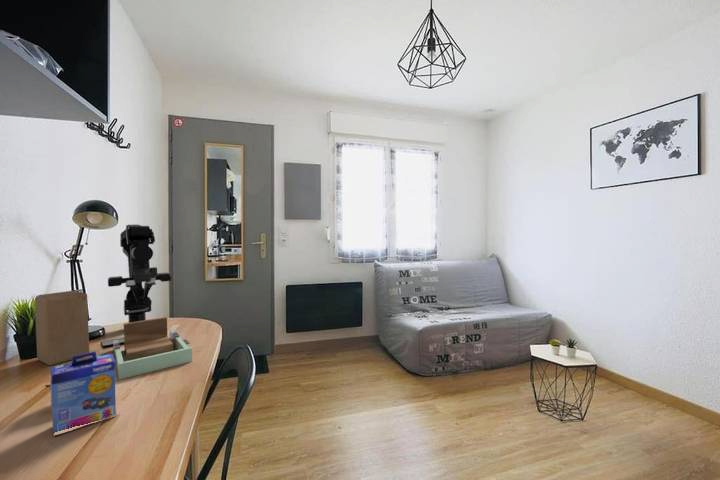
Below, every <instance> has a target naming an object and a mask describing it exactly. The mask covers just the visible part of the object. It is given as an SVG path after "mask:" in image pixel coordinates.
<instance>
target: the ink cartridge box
mask: <svg viewBox="0 0 720 480" xmlns="http://www.w3.org/2000/svg"><path fill="white" fill-rule="evenodd" d="M112 354H113V353H108V354H103V355H100V356H97V351H91V352H90V351H89V353H86V354H81V355H76V356H73V359H72V360H71V362H67V363H60V364H56V365H54V366H52V367H51V370H50V371H51V372H50V385H51V390H50V402H51V404H50V405H51V420H52V422H51V423H52V434H53V433H55V432H58V431H61V430H65V429H69V428H72V427H75V426H80V425H84V424H88V423H91V422H95V421H99V420H103V419H105V418H109V417H111V416H114V415H116V416H117V404H116V359H114V357H113V355H112ZM84 357H87V358H84ZM80 358H81V359H80ZM82 358H83V359H82Z"/></svg>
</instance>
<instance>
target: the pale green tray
mask: <svg viewBox="0 0 720 480" xmlns="http://www.w3.org/2000/svg"><path fill="white" fill-rule="evenodd" d="M169 339H170V341H171V342H172V343H173V346H174V347H176V349H175V350H173V351H171V352H166V353H162V354H157V355H153V356H148V357H143V358H139V359H134V360H130V361H127V360H126V361H124V358H123V355H122V350H121V345H120V342H119V340H118V339H116V340H115V339H114V340H113V342H112V344H113V353H111V354H112V355H113V357H114V360H115V365H116V368H117V373H118V379H119V380H122V379H127V378H130V377H134V376H139V375H143V374H146V373H150V372H155V371H159V370H162V369H166V368H170V367H171V368H172V367H174V366H179V365H184V364H188V363H193V347H191V346H190V347H189V346H188V344H189V345H190V342H189V340H188V339H187V338H184V339H182V338H181V336H180V334H179V332H177V331H175V329H171V330H169Z"/></svg>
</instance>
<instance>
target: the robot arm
mask: <svg viewBox="0 0 720 480" xmlns="http://www.w3.org/2000/svg"><path fill="white" fill-rule="evenodd" d="M155 242H156V238H155V233H154V231H153V229H152V228H150V226H149V225H142V224H126V227H125V229H124V230H123V231H121V233H120V241H119V244H120V247H121V248H122V253H123V254H124V255H125V256H126V257H127V265H128V266H127V267H128V277H123V276H122V275H121V276H120V275H118V276H109V277H108V278H107V287H119V286H121V285H123V284H125V288H129V289H128V291H127V293H126V295H125V299H124V300H123V314H124V316H128V323H130V322H137V321H143V320H147V319H146V318H147V317H146V316H147V315H146V313H150V312H152V302H153V300H152V299H151V297H149V293H150V290H151V289H152V287H153V286H154V285H157V283H156V281H160V282H171V281H172V275H171V273H169V272H158V267H156V266H155V267H150V260H151V259H152V258H153V256H154V251H153V248H151V247H150V246H149V245H154V243H155ZM143 283H144V284H143ZM143 286H144V287H143Z"/></svg>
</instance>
